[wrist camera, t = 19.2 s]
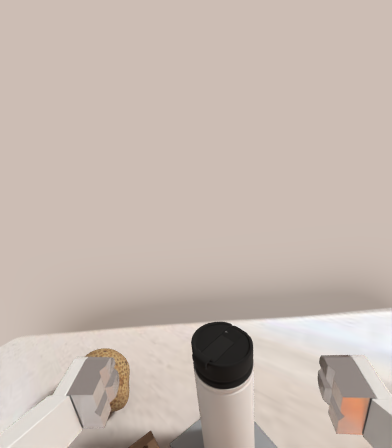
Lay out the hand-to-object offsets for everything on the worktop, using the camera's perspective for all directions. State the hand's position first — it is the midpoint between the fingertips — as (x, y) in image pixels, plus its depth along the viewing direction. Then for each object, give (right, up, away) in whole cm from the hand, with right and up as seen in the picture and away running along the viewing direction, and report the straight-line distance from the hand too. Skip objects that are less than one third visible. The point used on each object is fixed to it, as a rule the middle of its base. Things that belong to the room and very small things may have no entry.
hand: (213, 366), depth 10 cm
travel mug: (+4, -24, +23) cm, 33 cm away
